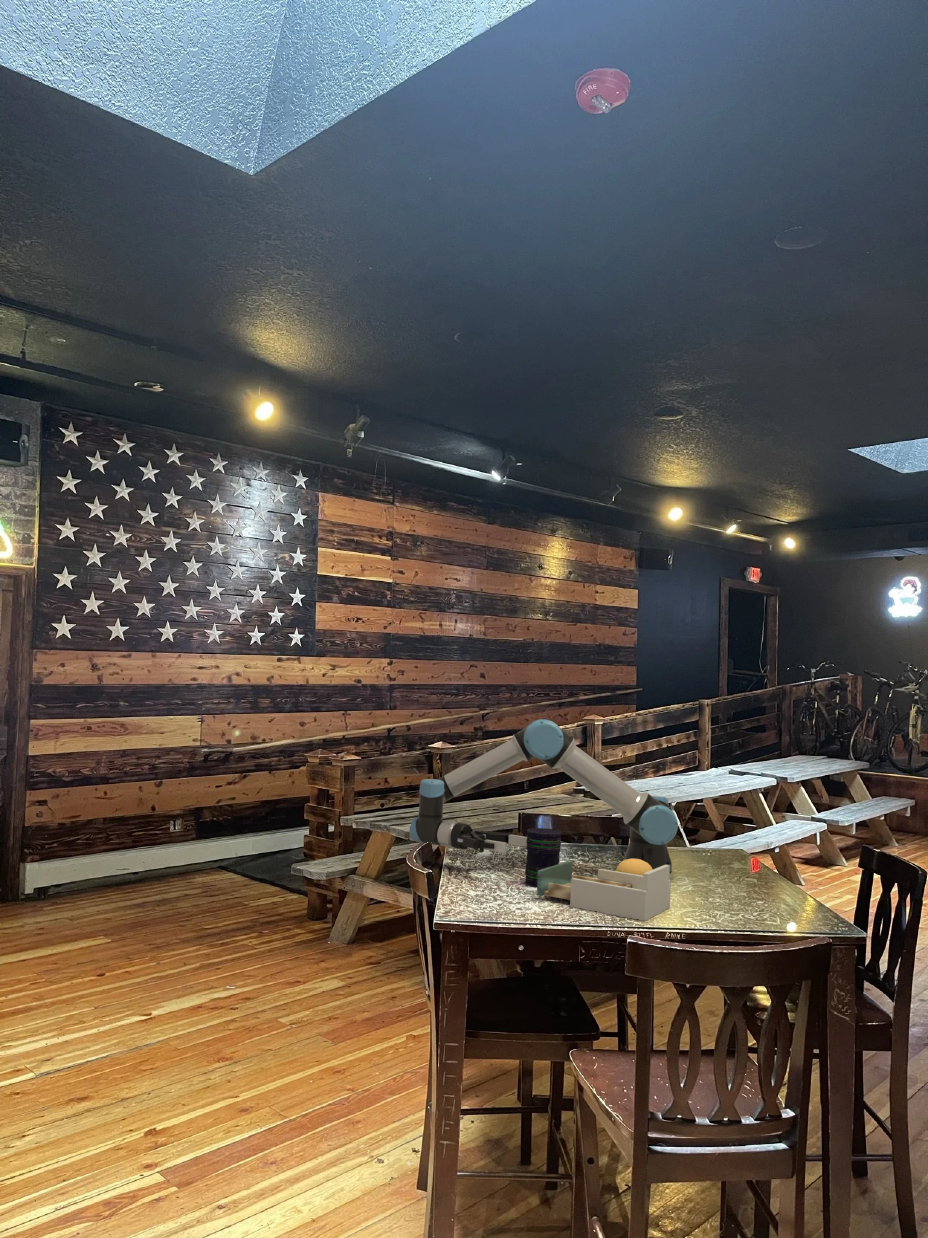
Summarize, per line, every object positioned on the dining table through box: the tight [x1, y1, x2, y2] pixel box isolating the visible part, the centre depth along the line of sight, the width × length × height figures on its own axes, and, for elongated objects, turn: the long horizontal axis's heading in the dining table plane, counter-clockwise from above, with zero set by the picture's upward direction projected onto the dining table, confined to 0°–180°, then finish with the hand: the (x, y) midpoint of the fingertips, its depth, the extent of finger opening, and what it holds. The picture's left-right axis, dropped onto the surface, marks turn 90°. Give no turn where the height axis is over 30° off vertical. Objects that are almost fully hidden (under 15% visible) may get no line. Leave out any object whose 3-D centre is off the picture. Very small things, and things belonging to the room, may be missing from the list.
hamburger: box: [614, 859, 653, 876], centre depth 246 cm, size 12×12×9 cm
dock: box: [569, 865, 672, 922], centre depth 225 cm, size 20×18×11 cm
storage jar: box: [524, 827, 562, 888], centre depth 247 cm, size 10×10×15 cm
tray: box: [536, 861, 632, 901], centre depth 230 cm, size 20×18×6 cm
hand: (517, 845), depth 252 cm, fingers open, 13 cm apart
